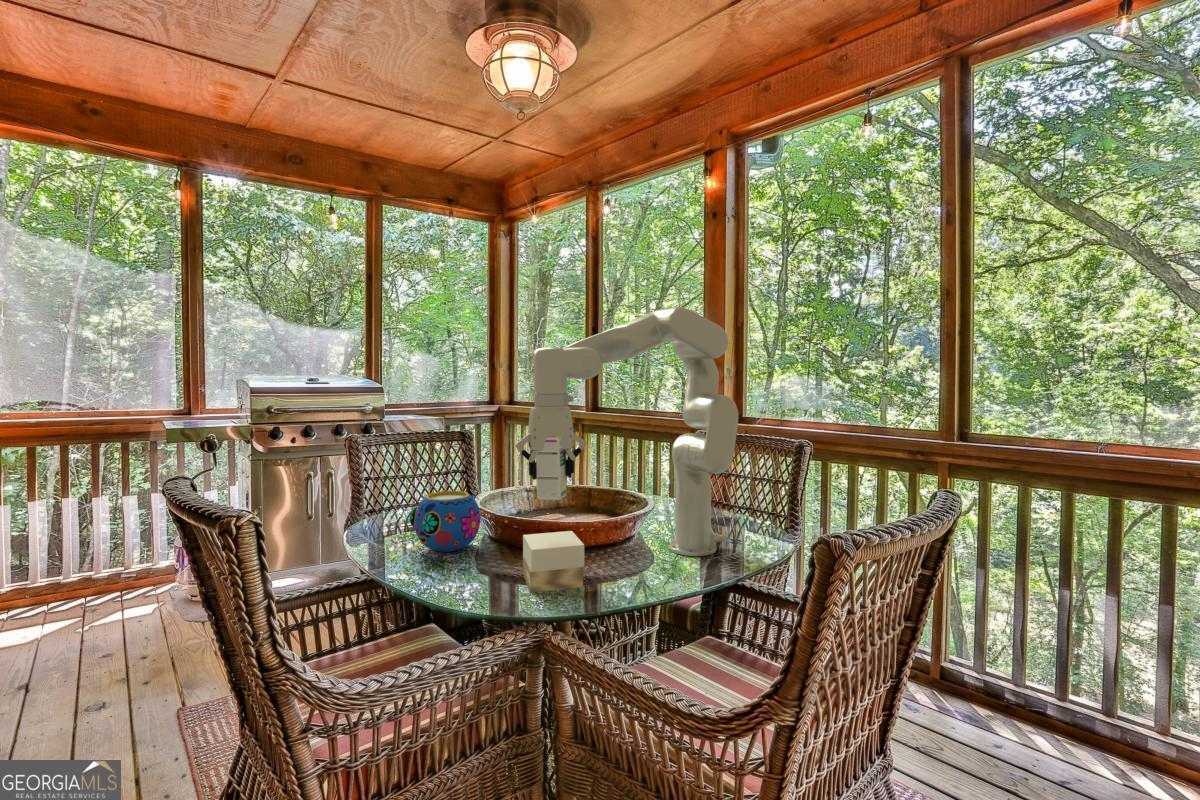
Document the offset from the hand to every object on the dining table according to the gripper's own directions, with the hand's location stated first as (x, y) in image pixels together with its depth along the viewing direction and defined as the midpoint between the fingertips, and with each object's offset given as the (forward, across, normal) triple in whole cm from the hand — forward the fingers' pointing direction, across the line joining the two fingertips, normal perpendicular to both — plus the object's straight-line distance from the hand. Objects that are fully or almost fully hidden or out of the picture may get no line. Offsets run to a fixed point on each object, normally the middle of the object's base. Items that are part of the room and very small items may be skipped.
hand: (551, 477), depth 137 cm
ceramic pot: (+24, +23, -31) cm, 46 cm away
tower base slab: (+25, 0, 0) cm, 25 cm away
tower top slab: (+20, 0, 0) cm, 20 cm away
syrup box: (+5, 0, 0) cm, 5 cm away
